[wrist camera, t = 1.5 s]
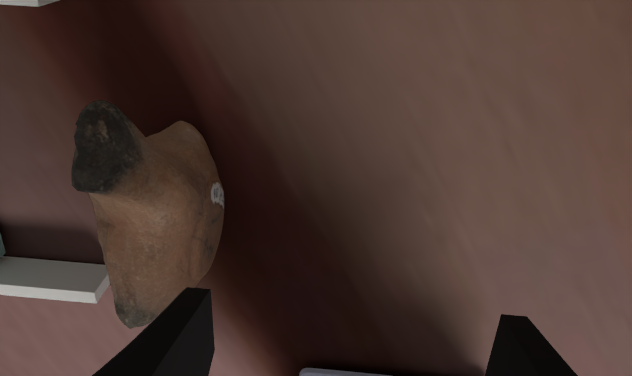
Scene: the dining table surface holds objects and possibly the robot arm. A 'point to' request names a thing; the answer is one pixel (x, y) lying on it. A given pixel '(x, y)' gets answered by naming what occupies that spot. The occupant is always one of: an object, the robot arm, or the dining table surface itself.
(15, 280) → the pusher lane
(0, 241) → the panel
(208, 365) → the robot arm
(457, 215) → the dining table surface
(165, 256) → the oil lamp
